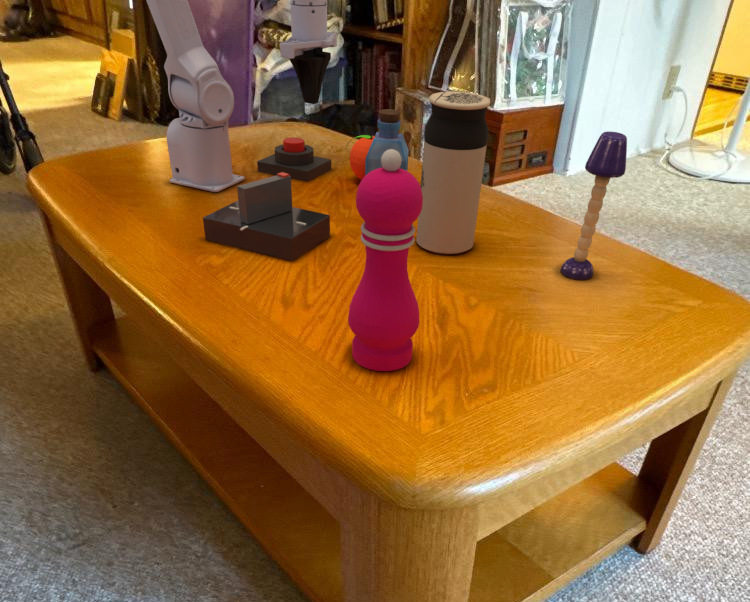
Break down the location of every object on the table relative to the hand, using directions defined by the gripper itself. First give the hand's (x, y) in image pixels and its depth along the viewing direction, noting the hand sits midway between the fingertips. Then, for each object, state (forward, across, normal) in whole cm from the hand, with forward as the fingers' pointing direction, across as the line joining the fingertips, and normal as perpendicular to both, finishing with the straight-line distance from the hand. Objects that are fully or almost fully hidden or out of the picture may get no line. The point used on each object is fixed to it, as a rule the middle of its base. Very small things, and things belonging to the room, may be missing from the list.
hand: (311, 102), depth 115 cm
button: (+6, -6, 0) cm, 9 cm away
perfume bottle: (+10, -9, -19) cm, 23 cm away
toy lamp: (+10, -23, -54) cm, 59 cm away
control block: (+9, -6, 0) cm, 11 cm away
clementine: (+10, -4, -13) cm, 17 cm away
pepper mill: (+10, -55, -41) cm, 69 cm away
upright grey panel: (+6, -34, -13) cm, 37 cm away
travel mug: (+10, -23, -35) cm, 43 cm away
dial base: (+9, -34, -13) cm, 38 cm away
